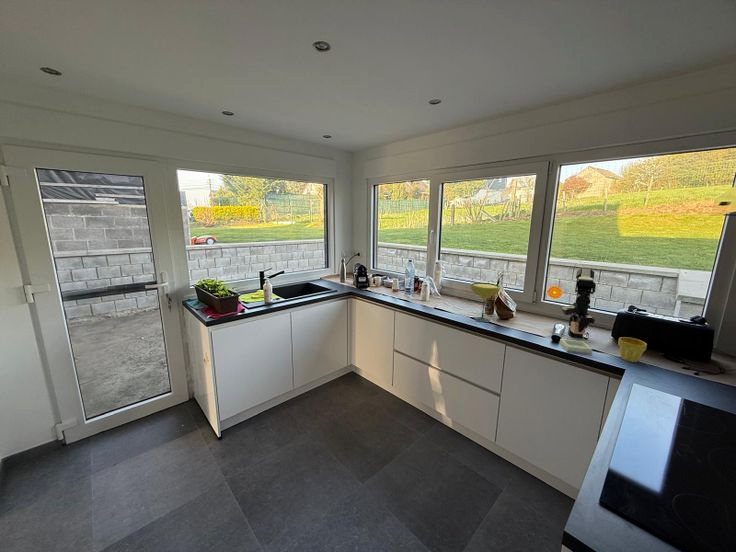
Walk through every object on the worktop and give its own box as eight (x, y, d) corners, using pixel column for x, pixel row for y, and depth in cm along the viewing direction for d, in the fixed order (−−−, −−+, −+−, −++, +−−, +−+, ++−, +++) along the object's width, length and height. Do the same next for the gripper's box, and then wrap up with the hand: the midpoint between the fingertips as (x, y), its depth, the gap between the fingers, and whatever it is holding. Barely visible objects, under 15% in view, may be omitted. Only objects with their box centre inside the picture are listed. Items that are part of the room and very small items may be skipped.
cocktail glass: (479, 314, 213) (482, 281, 209) (501, 321, 198) (505, 286, 194) (463, 318, 204) (465, 284, 199) (485, 326, 189) (488, 289, 184)
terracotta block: (580, 331, 156) (582, 322, 155) (584, 334, 151) (586, 325, 150) (570, 330, 157) (571, 321, 156) (573, 333, 153) (575, 324, 152)
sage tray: (582, 346, 160) (583, 341, 159) (591, 354, 149) (592, 349, 149) (559, 343, 163) (560, 338, 162) (567, 352, 152) (568, 346, 152)
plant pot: (637, 365, 138) (641, 346, 137) (611, 356, 147) (615, 339, 146) (647, 361, 143) (650, 343, 141) (621, 353, 152) (624, 335, 150)
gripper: (558, 296, 162) (554, 323, 165) (571, 305, 145) (567, 334, 147) (581, 298, 159) (577, 325, 162) (597, 307, 142) (592, 337, 144)
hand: (577, 330), depth 154 cm, fingers closed on terracotta block, 5 cm apart
